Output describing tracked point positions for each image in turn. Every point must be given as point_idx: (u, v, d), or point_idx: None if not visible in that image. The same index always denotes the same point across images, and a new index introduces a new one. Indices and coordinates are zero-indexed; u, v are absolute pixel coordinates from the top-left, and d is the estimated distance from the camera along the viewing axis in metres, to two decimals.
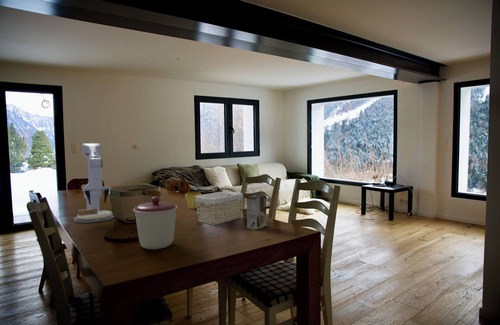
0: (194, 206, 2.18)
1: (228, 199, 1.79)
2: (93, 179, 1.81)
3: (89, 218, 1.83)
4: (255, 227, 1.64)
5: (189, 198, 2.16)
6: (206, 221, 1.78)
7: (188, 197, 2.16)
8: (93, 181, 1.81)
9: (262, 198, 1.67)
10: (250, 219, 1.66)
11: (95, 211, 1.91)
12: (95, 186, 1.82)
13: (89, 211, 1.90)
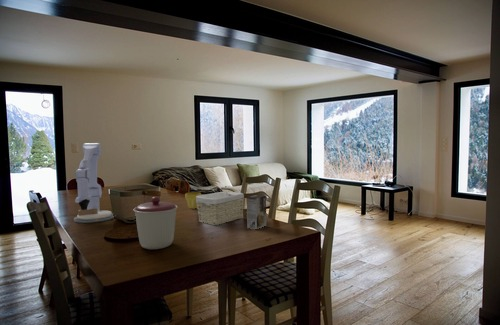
0: (194, 206, 2.18)
1: (229, 199, 1.79)
2: (78, 189, 1.88)
3: (89, 218, 1.83)
4: (255, 227, 1.64)
5: (189, 198, 2.16)
6: (207, 221, 1.78)
7: (188, 197, 2.16)
8: None
9: (262, 198, 1.67)
10: (250, 219, 1.66)
11: (95, 211, 1.91)
12: None
13: (89, 211, 1.90)
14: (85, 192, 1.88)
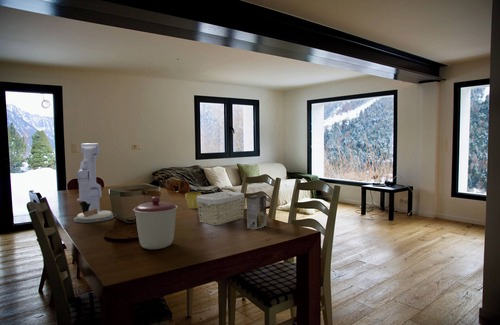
0: (194, 206, 2.18)
1: (230, 199, 1.79)
2: (80, 190, 1.83)
3: (104, 216, 1.88)
4: (255, 227, 1.64)
5: (189, 198, 2.16)
6: (208, 221, 1.77)
7: (188, 197, 2.16)
8: None
9: (262, 198, 1.67)
10: (250, 219, 1.66)
11: (97, 211, 1.92)
12: (79, 197, 1.85)
13: (93, 211, 1.89)
14: (90, 193, 1.86)
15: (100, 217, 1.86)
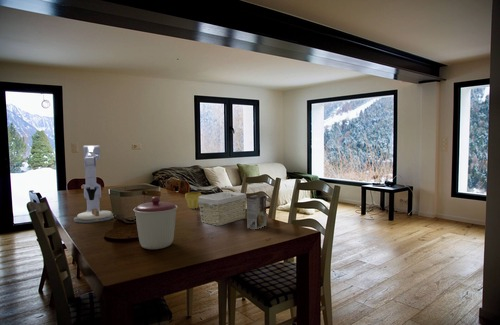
0: (194, 206, 2.18)
1: (232, 199, 1.78)
2: (87, 177, 1.91)
3: (111, 214, 1.94)
4: (255, 227, 1.64)
5: (189, 198, 2.16)
6: (209, 222, 1.76)
7: (188, 197, 2.16)
8: None
9: (262, 198, 1.67)
10: (250, 219, 1.66)
11: None
12: None
13: None
14: (95, 179, 1.93)
15: (109, 215, 1.92)
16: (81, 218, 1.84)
